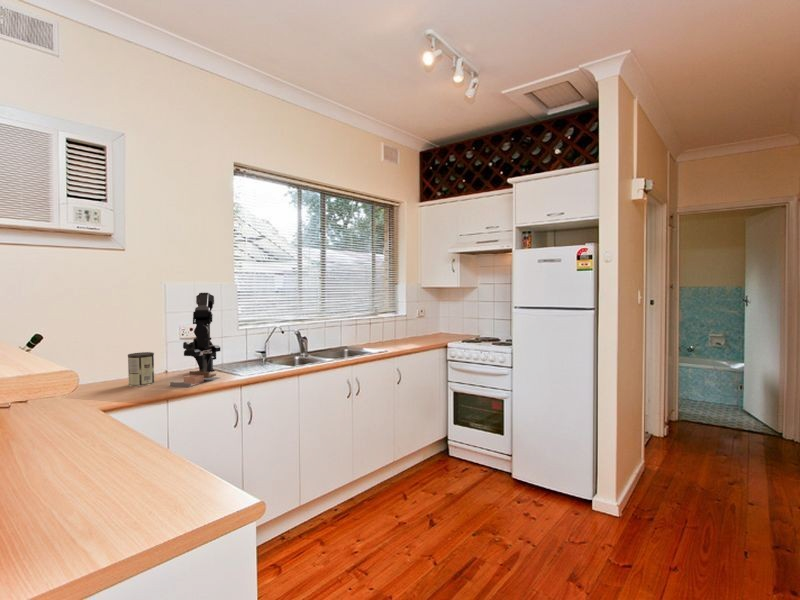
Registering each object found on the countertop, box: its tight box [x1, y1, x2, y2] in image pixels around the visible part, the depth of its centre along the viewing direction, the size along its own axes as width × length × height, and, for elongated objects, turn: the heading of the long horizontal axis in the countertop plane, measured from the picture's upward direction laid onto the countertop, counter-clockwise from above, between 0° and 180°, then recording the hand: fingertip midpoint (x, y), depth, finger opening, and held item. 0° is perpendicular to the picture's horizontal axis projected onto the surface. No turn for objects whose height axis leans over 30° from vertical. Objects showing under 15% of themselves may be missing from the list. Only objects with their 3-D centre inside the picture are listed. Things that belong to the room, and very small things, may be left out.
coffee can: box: [127, 351, 155, 388], centre depth 203 cm, size 10×10×14 cm
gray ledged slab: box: [169, 376, 220, 388], centre depth 207 cm, size 22×10×2 cm, turn 165°
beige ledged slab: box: [189, 359, 217, 378], centre depth 211 cm, size 6×10×8 cm, turn 75°
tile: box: [183, 374, 204, 384], centre depth 205 cm, size 6×6×3 cm
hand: (203, 368), depth 211 cm, fingers open, 2 cm apart
